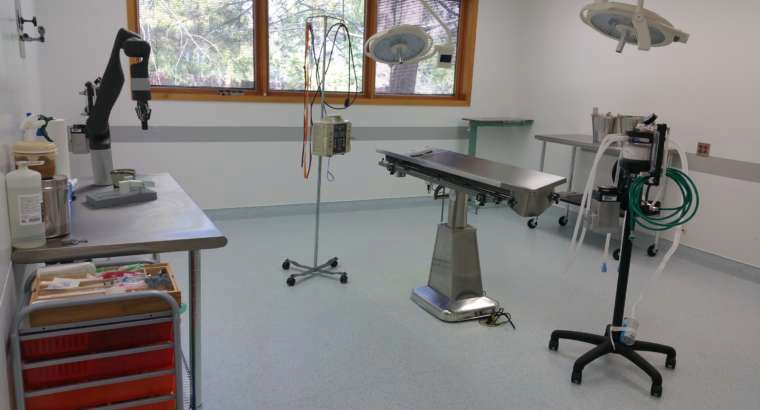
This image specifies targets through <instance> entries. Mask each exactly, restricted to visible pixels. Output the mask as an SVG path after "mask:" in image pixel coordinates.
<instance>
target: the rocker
mask: <svg viewBox="0 0 760 410" xmlns="http://www.w3.org/2000/svg"><path fill="white" fill-rule="evenodd" d="M128 181H129V182H130V183H129V186H139V187H146V188H155V185H156V182H155V181H153V180H149V179H148V180H146V179H140V180H128Z"/></svg>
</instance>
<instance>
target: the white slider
mask: <svg viewBox="0 0 760 410" xmlns="http://www.w3.org/2000/svg"><path fill="white" fill-rule="evenodd" d="M118 183H119V188H120V195H124V194H130V188H129V183H130V182H129V181H127V180H126V181H119V182H118Z"/></svg>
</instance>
